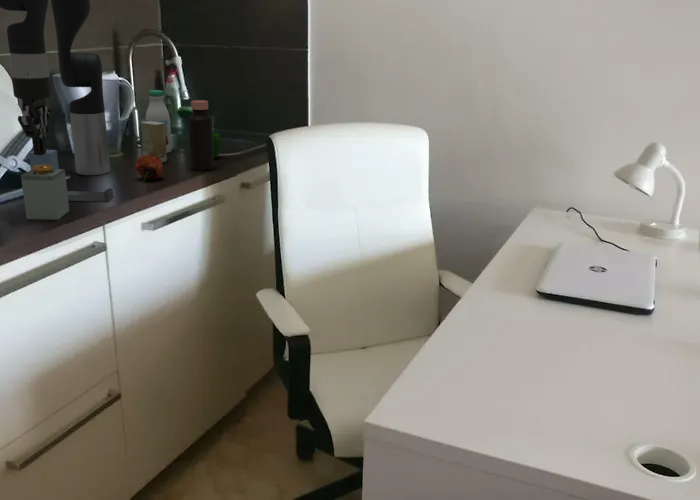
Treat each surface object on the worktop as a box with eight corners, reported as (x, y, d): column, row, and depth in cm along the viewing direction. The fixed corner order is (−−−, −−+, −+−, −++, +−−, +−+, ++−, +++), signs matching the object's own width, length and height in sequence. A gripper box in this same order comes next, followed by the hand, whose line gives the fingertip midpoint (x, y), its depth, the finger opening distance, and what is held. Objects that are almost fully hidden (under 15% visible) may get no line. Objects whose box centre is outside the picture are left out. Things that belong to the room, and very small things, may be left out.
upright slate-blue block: (42, 194, 172) (37, 149, 168) (62, 194, 172) (57, 149, 169) (33, 200, 167) (27, 153, 163) (54, 200, 167) (48, 154, 163)
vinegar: (194, 165, 209) (191, 99, 202) (216, 166, 209) (213, 100, 202) (188, 170, 203) (185, 102, 196) (211, 171, 203) (208, 103, 196)
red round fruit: (160, 190, 189) (173, 163, 194) (146, 173, 183) (160, 145, 189) (138, 190, 192) (151, 163, 197) (124, 173, 186) (138, 145, 191)
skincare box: (142, 161, 212) (139, 122, 208) (151, 159, 216) (148, 120, 212) (159, 164, 210) (157, 124, 206) (168, 161, 214) (165, 122, 210)
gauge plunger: (40, 193, 157) (36, 163, 155) (58, 194, 157) (54, 164, 155) (33, 198, 153) (29, 167, 151) (51, 198, 154) (48, 168, 151)
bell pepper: (188, 157, 220) (187, 126, 216) (209, 154, 226) (208, 124, 222) (205, 161, 214) (203, 130, 211) (225, 158, 220) (224, 127, 217)
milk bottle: (153, 148, 231) (149, 88, 224) (175, 150, 230) (172, 89, 223) (144, 153, 224) (139, 91, 217) (166, 154, 223) (162, 92, 216)
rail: (31, 196, 171) (30, 186, 170) (113, 197, 172) (112, 188, 171) (25, 199, 168) (24, 190, 167) (109, 201, 169) (108, 192, 168)
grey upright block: (39, 210, 160) (33, 168, 157) (69, 210, 160) (64, 169, 157) (26, 219, 153) (20, 175, 150) (58, 219, 154) (53, 176, 150)
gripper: (35, 78, 140) (45, 161, 146) (59, 72, 153) (68, 148, 159) (-2, 77, 140) (10, 160, 146) (25, 71, 152) (35, 148, 158)
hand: (40, 154), depth 152 cm, fingers closed
